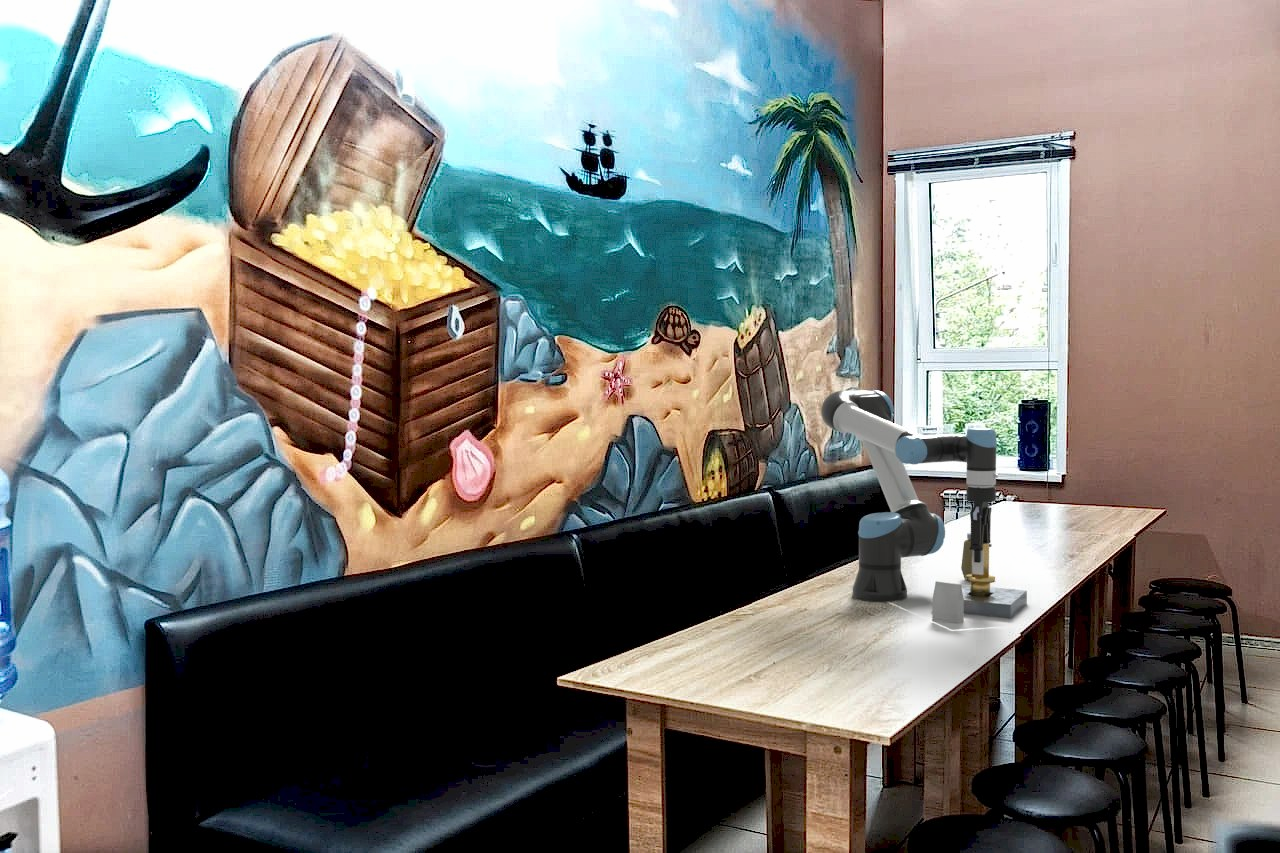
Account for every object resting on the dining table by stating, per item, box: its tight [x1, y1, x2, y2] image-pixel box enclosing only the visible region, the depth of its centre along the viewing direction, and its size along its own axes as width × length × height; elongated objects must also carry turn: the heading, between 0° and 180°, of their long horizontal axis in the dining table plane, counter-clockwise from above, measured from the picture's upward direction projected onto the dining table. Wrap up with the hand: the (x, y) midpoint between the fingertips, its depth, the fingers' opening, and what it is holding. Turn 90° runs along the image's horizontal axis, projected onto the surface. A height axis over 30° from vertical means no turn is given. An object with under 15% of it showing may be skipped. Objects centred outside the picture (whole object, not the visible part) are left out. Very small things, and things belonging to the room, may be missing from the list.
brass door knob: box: [964, 542, 996, 596], centre depth 291 cm, size 8×8×14 cm
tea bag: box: [931, 580, 965, 624], centre depth 277 cm, size 4×7×10 cm, turn 51°
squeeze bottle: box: [960, 532, 972, 580], centre depth 329 cm, size 8×8×18 cm
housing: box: [960, 583, 1028, 620], centre depth 292 cm, size 20×20×4 cm
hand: (980, 572), depth 291 cm, fingers closed on brass door knob, 4 cm apart
